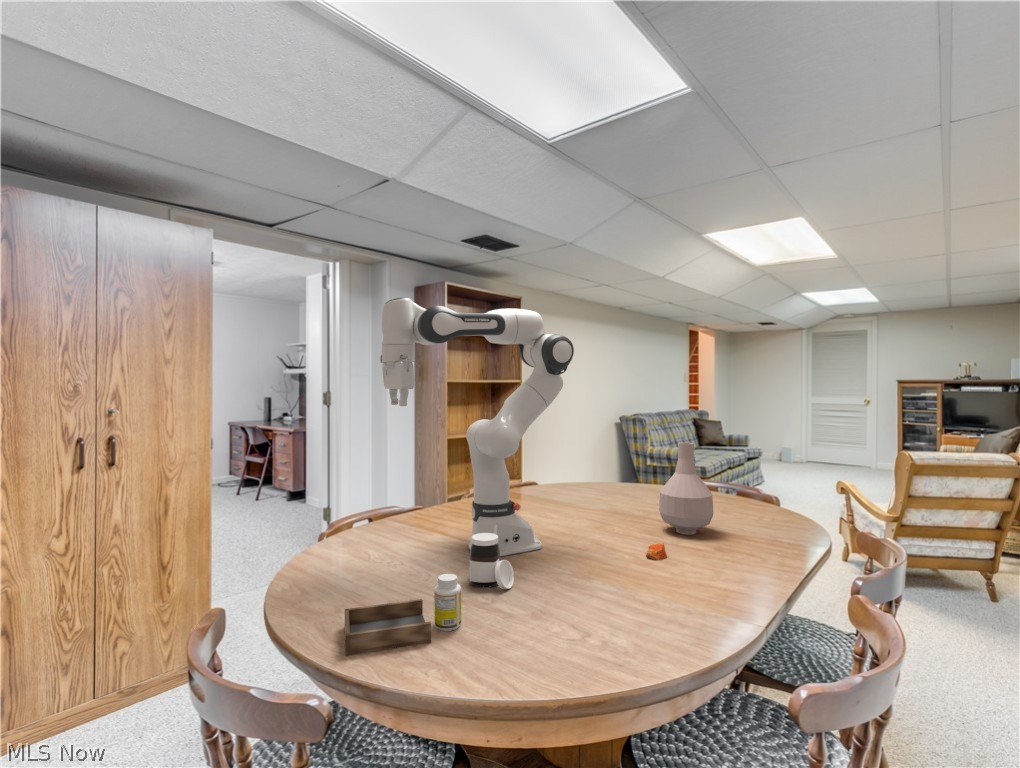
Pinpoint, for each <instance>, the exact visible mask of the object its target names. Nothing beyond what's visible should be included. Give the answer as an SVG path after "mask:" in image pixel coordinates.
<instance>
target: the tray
mask: <svg viewBox="0 0 1020 768" xmlns="http://www.w3.org/2000/svg"><path fill="white" fill-rule="evenodd" d="M423 610H424V609H423V598H420V599H410V600H404V601H397V602H387V603H381V604H374V605H367V606H358V607H352V608H351V607H350V608H344V655H345V657H349V656H354V655H355V656H357V655H363V654H368V653H375V652H381V651H387V650H393V649H394V650H395V649H399V648H406V647H411V646H413V647H414V646H420V645H424V644H431V643H432V622H431V621H425V617H424V614H423V613H424V612H423Z"/></svg>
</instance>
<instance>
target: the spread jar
mask: <svg viewBox="0 0 1020 768" xmlns="http://www.w3.org/2000/svg"><path fill="white" fill-rule="evenodd" d="M469 582H470V584H471V585H472V586H474V587H477V588H492V587H495V586H497V585H498V587H499V588H500V589H501V590H507V589H511V588H512V587H513V586H514V583H515V572H514V569H513V566H512V564H511V562H510V561H509V560H507V559H502V560H501V556H500V548H499V545H498V535H496V534H493V533H478V534H475V535H473V536H472V545H471V548H470V549H469Z"/></svg>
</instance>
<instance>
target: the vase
mask: <svg viewBox="0 0 1020 768" xmlns="http://www.w3.org/2000/svg"><path fill="white" fill-rule="evenodd" d="M677 443H678V445H677V450H678V451H677V452H678V453H677V455H678V456H677V462H676V466H675V472H673V474H672V476H671V477H670V478H669V479H668V480H667V481H666V483H665V484H664V486H663V487H662V488H661V489H660V491H659V506H658V512H659V513H660V517H661V519H662V521H664V523H666V524H668V525H670V527H673V528H675V532H676V533H677V534H681V535H687V536H689V535H696V534H697V530H699V529H701V528H704V527H707V526H708V525H710V524H711V522H712V519H713V516H714V501H713V500H714V498H713V492H712V491H711V490H710V488H709V487H708V485H706V483H705V482H704V480H703V479H702V478H701V477H700V475H699V474H698V473H697V468H696V467H697V466H696V463H695V458H694V455H695V454H694V453H695V452H694V444H695V443H694V442H685V441H684V442H677Z"/></svg>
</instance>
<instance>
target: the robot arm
mask: <svg viewBox="0 0 1020 768" xmlns="http://www.w3.org/2000/svg"><path fill="white" fill-rule="evenodd" d="M544 324H545V323H544V319H543V318H542V315H541V314H540V313H538V312H537V311H534V310H529V309H526V308H524V309H523V308H511V307H510V308H509V307H508V308H498V309H497V308H496V309H492V310H489V311H487V312H484V313H481V312H480V313H477V312H475V313H474V312H458V311H455V310H453V309H450V308H448V307H446V306H443V305H433V306H430V307H428V308H427V309H426V308H424V307H422V306H420V305H419V304H417V303H415V302H414V301H413V300H412V299H411V298H410V297H396V298H393V299H392V298H391V299H390V300H387V301H386V302H385V303H384V305H383V306H382V312H381V333H382V336H383V337H382V342H381V354H380V358H379V362H380V363H381V364H382V365H381V366H382V379H383V382H382V383H383V386H384V389H389V397H390V405H392V406H398V405H399V406H400V407H406V406H408V398H409V390H413V389H414V388H415V372H414V371H415V370H414V364H413V363H414V362H415V344H420V345H423V346H431V345H435V344H444V343H446V342H449V341H451V340H453V339H455V338H457V337H471V336H473V337H475V336H479V337H480V336H481V337H484V338H485V339H486V341H488V342H489V343H491V344H496V345H518V348H519V350H518V351H519V355H520V356H519V357H520V359H521V361H522V362H523V363H524V364H525V365H526V366H528V367H531V368H533V369H532V371H531V374H530V375H529V377H528V378H527V379H526V380H525V381H523V382H522V383H521V384H520V385H519V386H518V387H517V389H515V390H514V391H513V392H512V393H511V394H510V395H509V396H507V398H506V399H505V400H504V402H503V405H502V407H501V408H500V410H499V411H498V412H497V414H496V415H495V416H494V417H493V418H492V419H487V418H485V419H478V420H476V421H474V422H473V423H471V424H470V425H469V427H468V428H467V430H466V434H465V435H466V436H465V437H466V441H467V445H468V449H469V456H470V457H469V458H470V462H471V466H472V467H471V468H472V469H471V470H472V475H473V476H472V477H473V501H472V503H471V505H472V506H471V519H472V528H471V534H470V539H469V543H468V546H467V547H468V549H469V550H470V548H471V545H472V536H473V535H475V534H478V533H493V534H496V535H498V545H499V548H500V557H504V556H508V555H509V556H510V555H514V554H519V553H521V554H522V553H527V552H531V551H535V550H540V549H542V546H543V545H542V542H541V540H540V539H539V538H537V536H535V534H534V529H533V526H532V525H531V523H530V522H529V521H528V520H527V519H525V518H524V517H522V516H521V515H520V514H518V513H517V512H518V511H520V509H521V505H520V504H519V503H518V502H514V501H513V500H511V499H510V474H509V471H508V468H507V465H506V461H505V459H507V458H510V457H512V456H513V455H514V454H516V453H517V452H518V449H519V447H520V443H521V442H520V441H521V440H522V438H523V437H524V435H525V434H526V431H528V429H529V427H531V425H532V424H533V423H534V422H535V421H536V420H537V418H539V417H540V415H542V414H543V412H544V411H546V410H547V408H549V406H550V405H551V404H552V403H553V402H554V401H555V399H556V398H557V397H558V395H559V394H560V393H561V391H562V390H563V388H564V380H563V377H562V374H564V373H565V372H566V371H567V370H568V369H567V368H568V366H569V365H570V363H571V362H572V360H573V357H574V354H575V348H574V344H573V342H572V341H571V340H570V339H569V338H568V337H566V335H562V334H560V333H559V334H557V333H554V334H552V333H547V332H546V331H545V329H544V328H545V325H544ZM398 390H399V392H398ZM398 393H399V398H398ZM516 511H517V512H516Z"/></svg>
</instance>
